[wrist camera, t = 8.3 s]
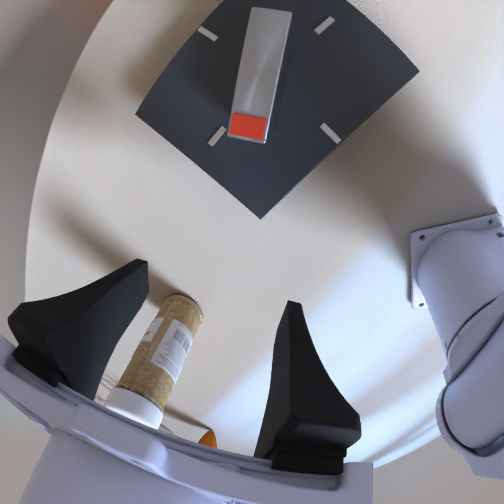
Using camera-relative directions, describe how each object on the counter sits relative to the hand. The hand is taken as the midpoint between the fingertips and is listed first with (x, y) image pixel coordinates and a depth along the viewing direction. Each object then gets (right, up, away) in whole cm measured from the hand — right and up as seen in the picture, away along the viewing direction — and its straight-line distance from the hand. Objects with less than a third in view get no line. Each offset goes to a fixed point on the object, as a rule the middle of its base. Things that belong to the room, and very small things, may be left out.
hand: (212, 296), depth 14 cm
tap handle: (+3, +12, 0) cm, 12 cm away
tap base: (+3, +13, +2) cm, 14 cm away
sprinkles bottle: (-5, -4, +15) cm, 16 cm away
